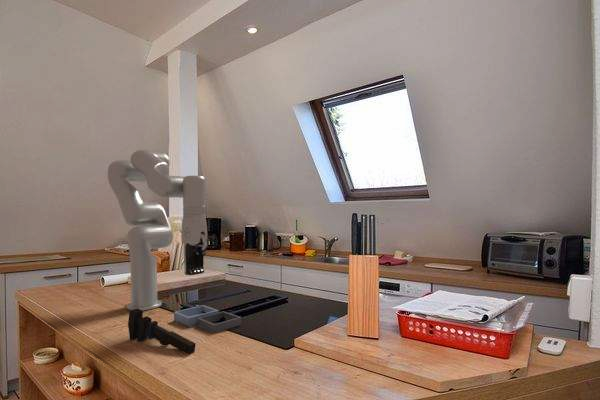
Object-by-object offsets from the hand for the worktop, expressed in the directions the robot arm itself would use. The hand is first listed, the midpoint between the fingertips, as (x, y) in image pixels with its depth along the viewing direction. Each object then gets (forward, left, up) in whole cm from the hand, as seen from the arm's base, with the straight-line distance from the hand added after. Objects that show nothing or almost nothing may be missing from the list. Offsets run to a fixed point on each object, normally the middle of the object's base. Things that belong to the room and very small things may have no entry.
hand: (195, 264), depth 126 cm
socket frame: (+11, +2, -19) cm, 22 cm away
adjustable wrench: (+13, -18, -19) cm, 30 cm away
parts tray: (0, 0, -19) cm, 19 cm away
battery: (0, 0, -3) cm, 3 cm away
